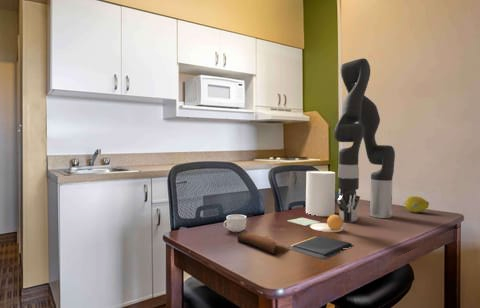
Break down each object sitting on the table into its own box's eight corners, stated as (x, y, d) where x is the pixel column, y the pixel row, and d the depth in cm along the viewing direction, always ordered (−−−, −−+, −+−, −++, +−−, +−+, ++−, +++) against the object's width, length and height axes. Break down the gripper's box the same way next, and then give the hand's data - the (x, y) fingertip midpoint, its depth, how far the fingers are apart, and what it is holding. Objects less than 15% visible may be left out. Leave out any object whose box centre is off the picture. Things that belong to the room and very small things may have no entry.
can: (358, 223, 140) (359, 195, 139) (340, 222, 141) (340, 194, 141) (355, 219, 147) (356, 192, 146) (338, 218, 148) (339, 191, 148)
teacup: (237, 226, 131) (238, 213, 131) (250, 231, 125) (250, 217, 125) (217, 231, 125) (217, 217, 125) (229, 235, 119) (230, 220, 119)
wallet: (324, 256, 95) (283, 244, 106) (323, 262, 95) (283, 249, 106) (357, 242, 108) (317, 232, 120) (357, 248, 109) (317, 237, 120)
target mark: (323, 222, 140) (323, 221, 140) (350, 228, 130) (350, 228, 130) (303, 226, 132) (303, 226, 132) (330, 234, 122) (330, 233, 122)
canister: (312, 209, 168) (313, 170, 167) (338, 212, 160) (339, 172, 159) (301, 213, 157) (301, 172, 156) (328, 217, 149) (329, 174, 148)
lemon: (401, 211, 164) (402, 195, 164) (407, 209, 169) (407, 194, 169) (425, 215, 156) (425, 198, 156) (430, 213, 161) (431, 197, 161)
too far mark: (302, 217, 148) (302, 217, 148) (320, 222, 140) (320, 221, 140) (287, 221, 142) (287, 220, 142) (304, 225, 134) (304, 225, 134)
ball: (347, 228, 127) (334, 230, 131) (343, 212, 128) (331, 215, 133) (339, 230, 123) (326, 232, 127) (335, 214, 124) (322, 216, 129)
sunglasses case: (293, 250, 103) (286, 234, 101) (280, 265, 100) (272, 249, 97) (255, 237, 117) (248, 222, 115) (242, 250, 113) (234, 235, 111)
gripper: (349, 174, 130) (348, 217, 131) (329, 176, 122) (328, 222, 123) (366, 176, 124) (366, 221, 125) (346, 178, 116) (346, 226, 117)
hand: (347, 221), depth 124 cm, fingers closed
